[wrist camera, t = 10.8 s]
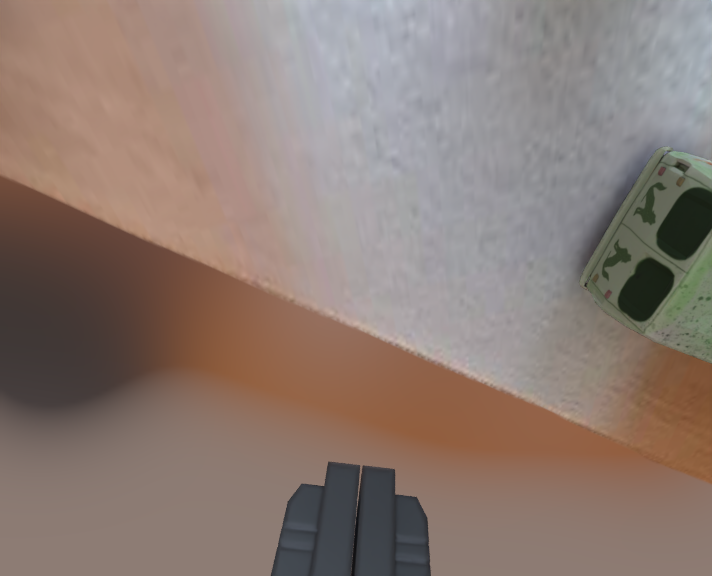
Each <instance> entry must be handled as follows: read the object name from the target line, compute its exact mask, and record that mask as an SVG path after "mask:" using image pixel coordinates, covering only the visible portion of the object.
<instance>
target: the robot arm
mask: <svg viewBox="0 0 712 576" xmlns="http://www.w3.org/2000/svg"><path fill="white" fill-rule="evenodd" d="M359 473H360V465H353V464H345V463H336V462H328V467H327V473H326V479H325V486H318V485H309V484H301V485H300V487H299V488H298V489H297V491H296V492H295V493H294V494H293V496H292V497H291V498H290V500H289V501H288V504H287V508H286V512H285V517H284V521H283V527H282V530H281V534H280V538H279V543H278V547H277V551H276V556H275V560H274V564H273V569H272V573H271V576H431V572H430V555H429V546H428V542H429V538H428V521H427V517H426V515H425V513H424V511H423V509H422V507H421V505H420V503H419V501H418V499H417V497H412V496H403V495H395V470H394V469H389V468H380V467H372V466H363V468H362V475H361V483H360V491H359V500H358V507H357V496H358V485H359ZM356 507H357V517H356ZM355 520H356V525H355ZM354 532H355V535H354ZM353 543H354V546H353ZM352 555H353V558H352ZM351 567H352V570H351Z"/></svg>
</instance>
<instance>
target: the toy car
mask: <svg viewBox="0 0 712 576" xmlns="http://www.w3.org/2000/svg"><path fill="white" fill-rule="evenodd" d="M665 151H669V152H670V153H668V154H666V155H664V156H663V154H664V153H665ZM589 276H590V279H589V281H588V283H586V281H587V280H588V278H589ZM579 284H580V286H581V288H583V289H585V290H587V289H588V291H590V292H591V294H592V296H593V298H594V301H595V303H596V304H597V305H598V306H599V307H600V308H601V309H602V310H603V311H604V312H605V313H607V314H608V315H610V316H611V317H613V318H614V319H615V320H617V321H618V322H620V323H621V324H623V325H624V326H626V327H628V328H630V329H632V330H634V331H636V332H637V333H639V334H641V335H643V336H645V337H646V338H648V339H650V340H652V341H653V342H656V343H659V344H661V345H664V346H667V347H669V348H672V349H674V350H677V351H680V352H682V353H685V354H688V355H690V356H693V357H696V358H698V359H701V360H703V361H706V362H709V363H711V364H712V161H709V160H706V159H704V158H700V157H697V156H694V155H691V154H687V153H682V152H675V151H673V148H671V147H662V148H660V149H657V150H656V151H655V153H654V154H653V155H652V157H651V158H650V160H649V161H648V163H647V165H646V166H645V168H644V169H643V171H642V173H641V174H640V176H639V178H638V179H637V181H636V182H635V184H634V186H633V187H632V189H631V191H630V192H629V194H628V195H627V197H626V199H625V200H624V202H623V204H622V205H621V207H620V209H619V210H618V212H617V213H616V215H615V217H614V218H613V220H612V222H611V224H610V225H609V227H608V229H607V231H606V232H605V234H604V236H603V237H602V239H601V241H600V243H599V244H598V246H597V248H596V250H595V251H594V253H593V255H592V257H591V258H590V260H589V262H588V263H587V265H586V267H585V269H584V270H583V273H582V275H581V277H580V281H579Z"/></svg>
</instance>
